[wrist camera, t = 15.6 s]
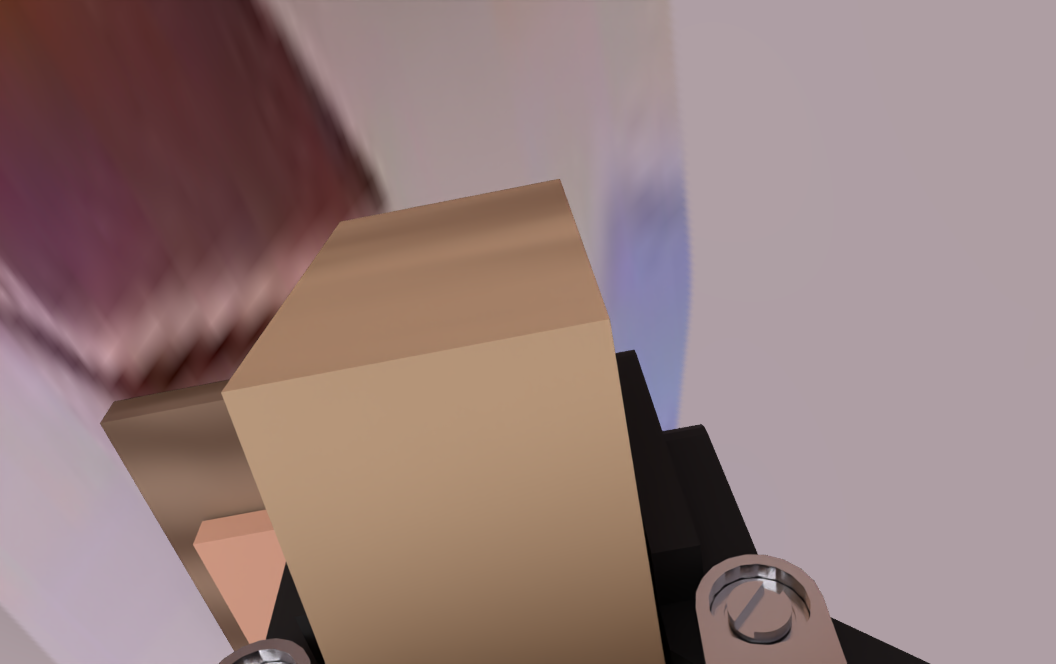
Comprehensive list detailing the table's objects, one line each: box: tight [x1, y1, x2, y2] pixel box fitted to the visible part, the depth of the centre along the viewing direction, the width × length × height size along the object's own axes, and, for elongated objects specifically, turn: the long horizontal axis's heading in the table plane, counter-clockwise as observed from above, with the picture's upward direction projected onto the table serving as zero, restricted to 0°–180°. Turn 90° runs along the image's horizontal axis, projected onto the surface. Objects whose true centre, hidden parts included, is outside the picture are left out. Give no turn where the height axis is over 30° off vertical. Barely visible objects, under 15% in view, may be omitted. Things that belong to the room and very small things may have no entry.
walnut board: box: [100, 380, 266, 652], centre depth 37 cm, size 16×14×2 cm
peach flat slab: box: [193, 510, 286, 644], centre depth 37 cm, size 2×8×9 cm
